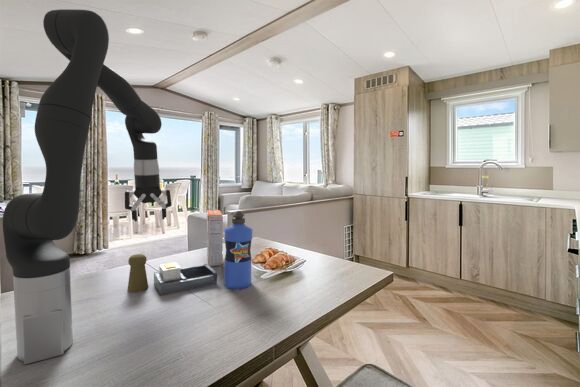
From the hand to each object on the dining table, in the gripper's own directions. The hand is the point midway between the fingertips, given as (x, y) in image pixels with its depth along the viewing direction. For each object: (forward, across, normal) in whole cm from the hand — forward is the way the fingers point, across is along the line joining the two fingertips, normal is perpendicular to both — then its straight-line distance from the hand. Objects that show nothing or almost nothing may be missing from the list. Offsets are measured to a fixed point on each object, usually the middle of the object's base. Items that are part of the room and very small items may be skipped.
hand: (149, 219), depth 102 cm
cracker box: (+23, +23, +12) cm, 35 cm away
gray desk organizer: (+21, +10, -10) cm, 25 cm away
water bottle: (+21, +27, -16) cm, 38 cm away
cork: (+20, -4, -9) cm, 23 cm away
